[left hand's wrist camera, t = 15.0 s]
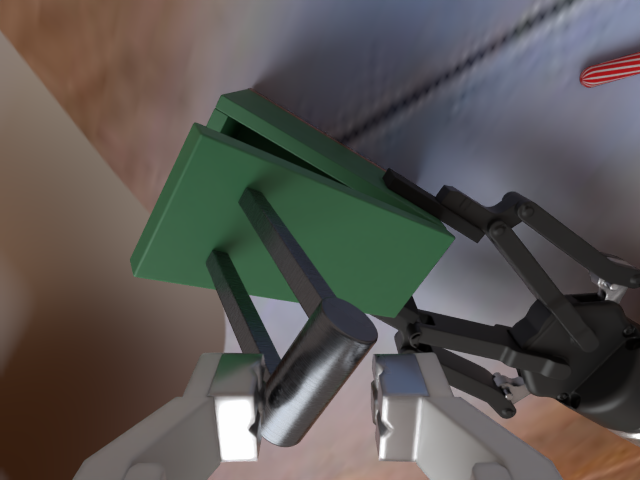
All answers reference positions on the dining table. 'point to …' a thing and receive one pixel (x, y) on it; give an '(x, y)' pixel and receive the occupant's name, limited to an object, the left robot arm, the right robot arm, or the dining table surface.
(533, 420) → the dining table surface
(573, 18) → the dining table surface
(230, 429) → the left robot arm
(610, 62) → the candy cane
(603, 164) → the dining table surface
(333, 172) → the chest
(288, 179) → the lid
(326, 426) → the dining table surface
